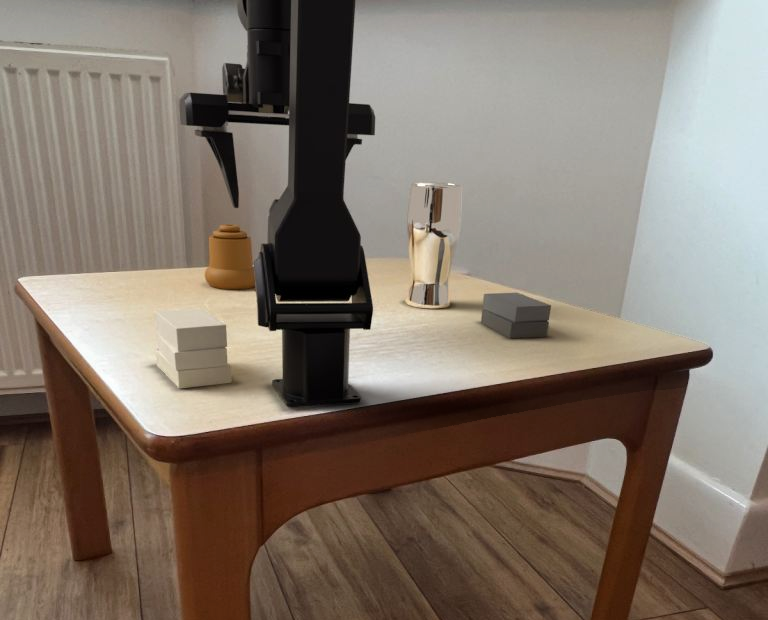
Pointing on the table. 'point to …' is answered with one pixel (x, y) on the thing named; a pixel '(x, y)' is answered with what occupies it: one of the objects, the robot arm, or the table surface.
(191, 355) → the white books
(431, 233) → the beer glass
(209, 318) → the off-white rectangular block
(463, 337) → the table surface
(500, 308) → the grey books
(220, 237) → the ornamental finial
